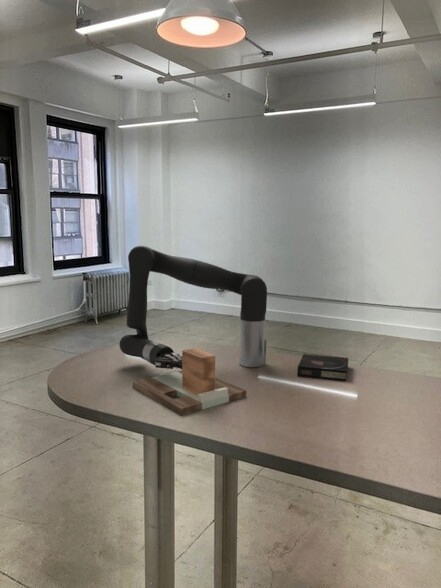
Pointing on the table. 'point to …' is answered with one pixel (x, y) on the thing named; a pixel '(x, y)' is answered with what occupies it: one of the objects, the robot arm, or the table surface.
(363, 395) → the table surface
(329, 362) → the portable cd player
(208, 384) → the block
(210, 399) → the lane board
